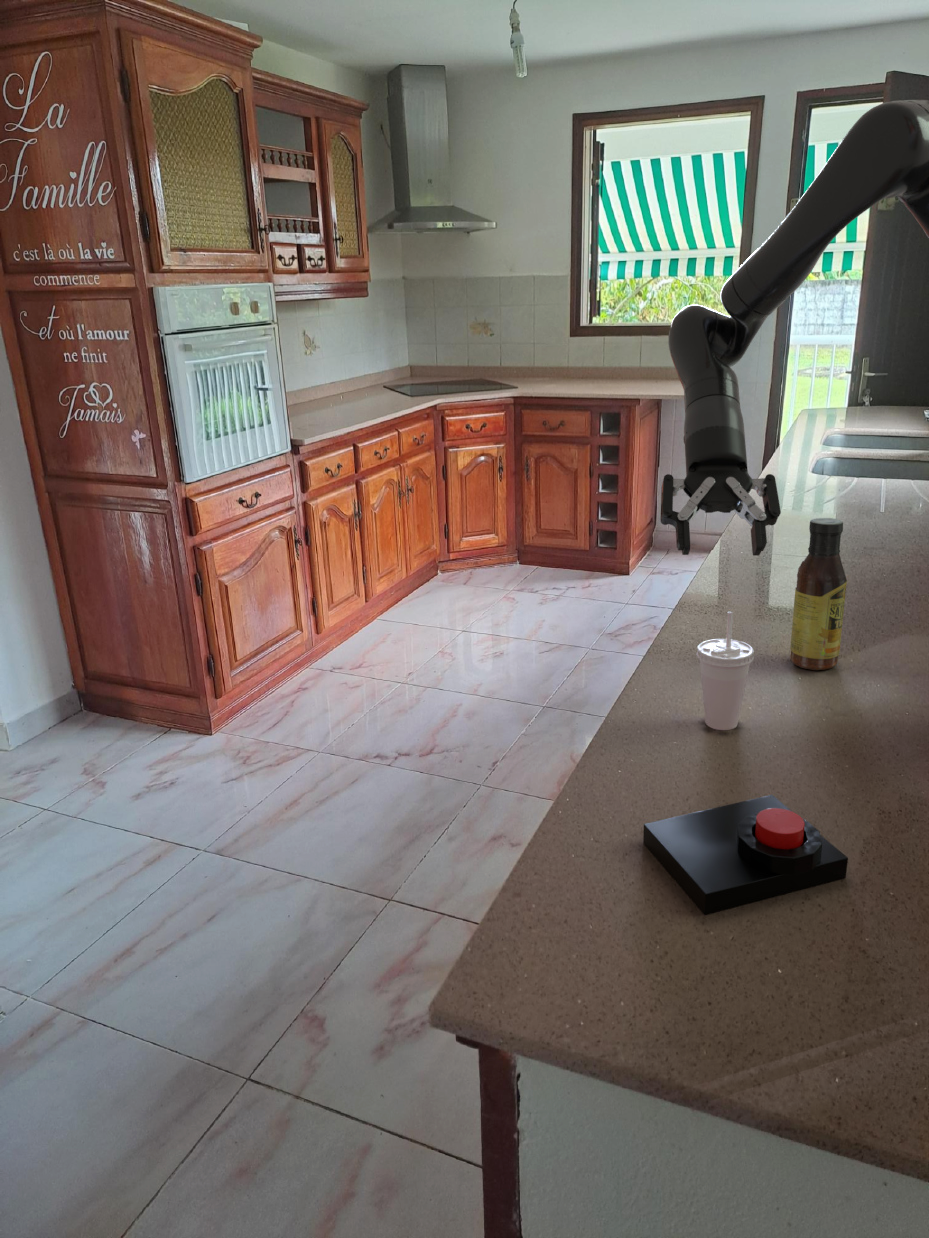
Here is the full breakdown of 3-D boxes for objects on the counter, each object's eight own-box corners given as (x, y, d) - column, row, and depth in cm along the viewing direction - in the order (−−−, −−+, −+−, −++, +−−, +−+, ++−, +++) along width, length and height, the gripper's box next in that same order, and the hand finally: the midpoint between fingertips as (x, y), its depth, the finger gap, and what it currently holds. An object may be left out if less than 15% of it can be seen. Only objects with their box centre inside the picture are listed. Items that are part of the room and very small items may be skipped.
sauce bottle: (834, 675, 116) (849, 529, 109) (784, 668, 119) (796, 525, 112) (841, 657, 121) (856, 517, 114) (794, 651, 124) (805, 513, 117)
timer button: (784, 820, 80) (785, 804, 79) (812, 845, 76) (814, 827, 76) (745, 829, 79) (746, 813, 78) (772, 855, 75) (774, 837, 75)
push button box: (770, 813, 87) (773, 778, 86) (849, 881, 77) (854, 842, 75) (643, 843, 84) (643, 807, 82) (707, 919, 73) (709, 879, 72)
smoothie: (760, 724, 105) (768, 613, 100) (725, 741, 101) (731, 628, 96) (717, 706, 110) (723, 600, 105) (682, 721, 106) (686, 613, 101)
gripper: (662, 424, 111) (666, 538, 105) (778, 423, 110) (789, 538, 104) (655, 456, 118) (659, 565, 112) (764, 456, 117) (774, 566, 110)
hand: (722, 552), depth 108 cm, fingers open, 8 cm apart
